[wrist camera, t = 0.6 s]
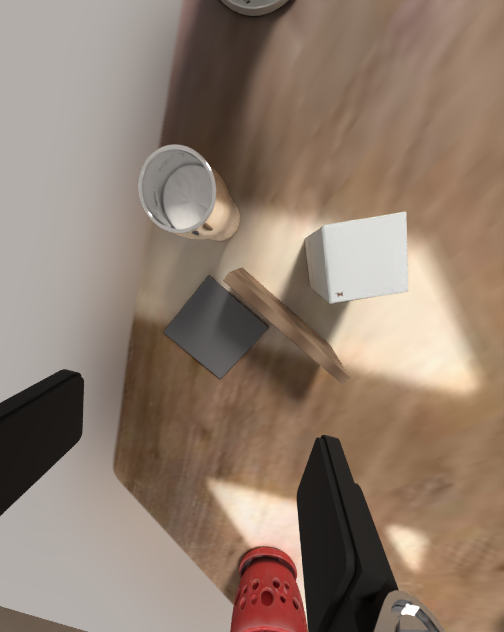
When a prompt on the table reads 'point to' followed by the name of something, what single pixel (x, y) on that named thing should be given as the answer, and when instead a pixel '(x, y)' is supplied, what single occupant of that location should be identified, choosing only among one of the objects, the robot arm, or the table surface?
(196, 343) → the mat
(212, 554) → the table surface
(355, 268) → the supplement box
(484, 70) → the table surface
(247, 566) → the plant pot
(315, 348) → the wood grain panel
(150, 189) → the metal tumbler
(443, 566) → the table surface
